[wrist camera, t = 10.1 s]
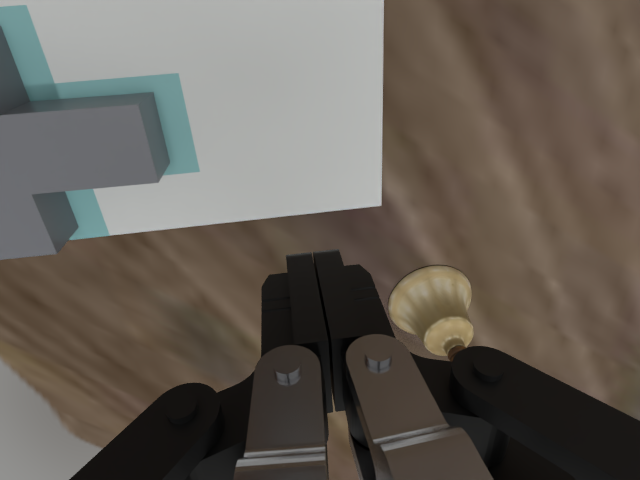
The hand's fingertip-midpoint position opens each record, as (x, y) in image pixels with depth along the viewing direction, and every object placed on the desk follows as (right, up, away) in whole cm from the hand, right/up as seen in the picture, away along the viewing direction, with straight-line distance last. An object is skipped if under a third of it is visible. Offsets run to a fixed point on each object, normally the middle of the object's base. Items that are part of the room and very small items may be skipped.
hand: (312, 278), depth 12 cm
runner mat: (-10, +10, +18) cm, 22 cm away
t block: (-17, +8, +17) cm, 25 cm away
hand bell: (+11, -5, +29) cm, 31 cm away
